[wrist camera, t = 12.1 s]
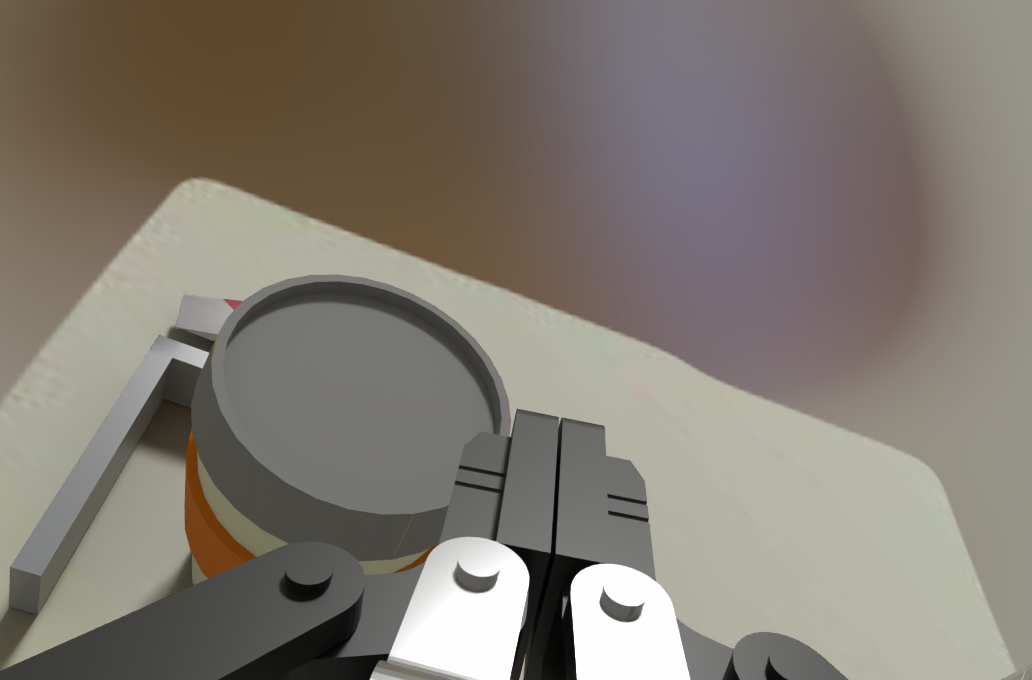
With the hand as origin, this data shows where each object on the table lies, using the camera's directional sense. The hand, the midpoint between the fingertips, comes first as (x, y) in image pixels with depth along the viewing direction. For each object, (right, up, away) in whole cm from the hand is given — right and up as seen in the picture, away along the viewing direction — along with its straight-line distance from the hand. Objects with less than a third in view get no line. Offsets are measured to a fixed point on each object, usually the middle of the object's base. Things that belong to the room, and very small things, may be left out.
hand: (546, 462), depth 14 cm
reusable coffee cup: (-12, -10, +28) cm, 32 cm away
